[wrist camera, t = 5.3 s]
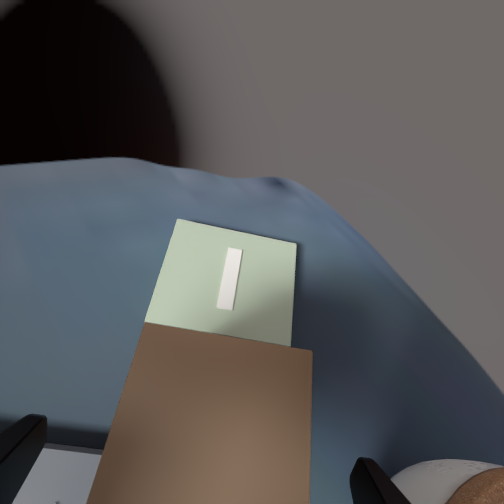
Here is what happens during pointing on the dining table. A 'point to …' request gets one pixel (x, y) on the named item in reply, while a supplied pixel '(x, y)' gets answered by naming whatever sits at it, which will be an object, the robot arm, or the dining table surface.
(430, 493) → the lidded jar
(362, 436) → the dining table surface
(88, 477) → the tile
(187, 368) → the walnut block
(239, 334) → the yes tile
